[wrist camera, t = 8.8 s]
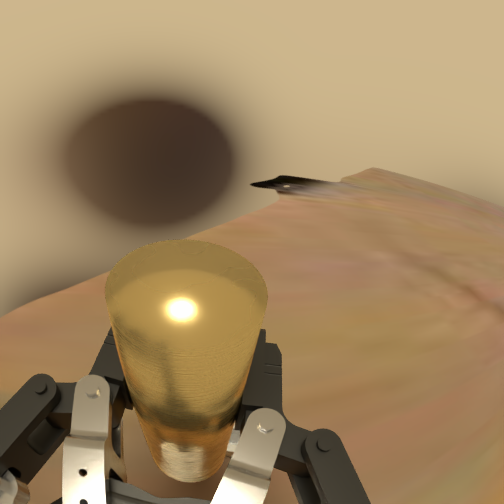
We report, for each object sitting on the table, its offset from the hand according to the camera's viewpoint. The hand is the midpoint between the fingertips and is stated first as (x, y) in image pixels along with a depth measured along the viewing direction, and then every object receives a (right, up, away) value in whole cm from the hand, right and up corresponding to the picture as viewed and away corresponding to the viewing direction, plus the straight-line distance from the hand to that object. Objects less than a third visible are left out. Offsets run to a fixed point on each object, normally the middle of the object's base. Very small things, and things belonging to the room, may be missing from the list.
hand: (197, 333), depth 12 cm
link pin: (-1, -7, +1) cm, 8 cm away
